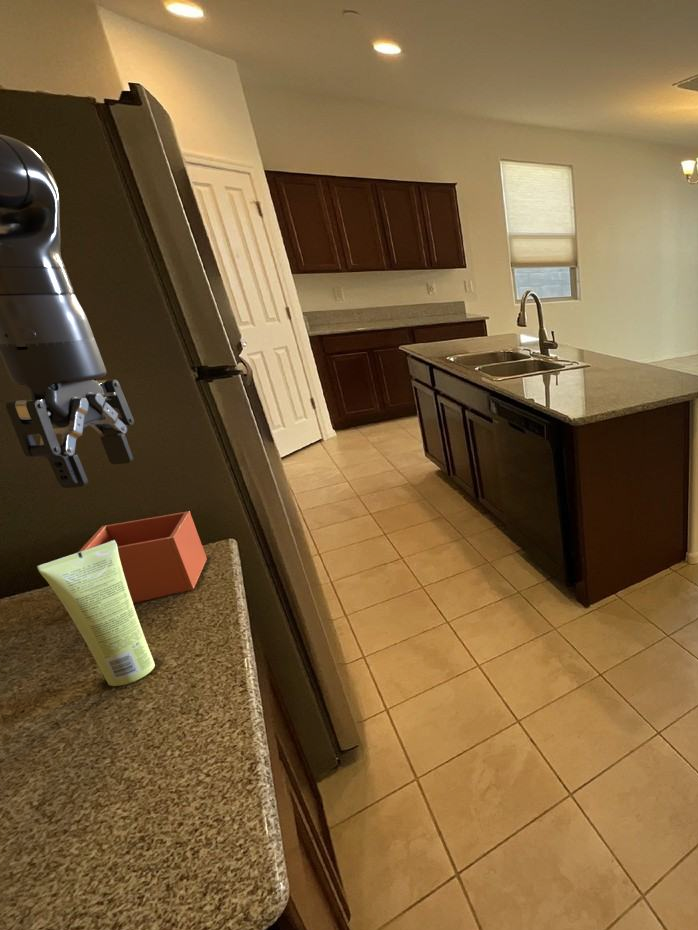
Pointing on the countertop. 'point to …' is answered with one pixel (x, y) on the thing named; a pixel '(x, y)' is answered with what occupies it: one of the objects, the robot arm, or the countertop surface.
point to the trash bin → (156, 554)
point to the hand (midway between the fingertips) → (100, 474)
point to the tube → (102, 610)
